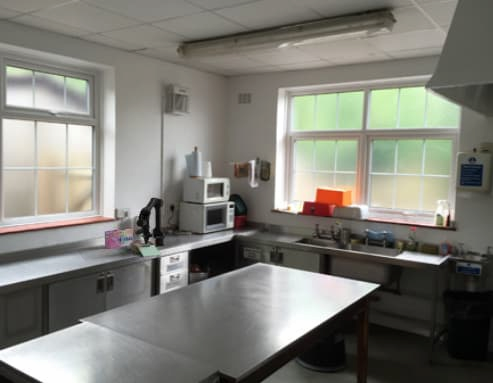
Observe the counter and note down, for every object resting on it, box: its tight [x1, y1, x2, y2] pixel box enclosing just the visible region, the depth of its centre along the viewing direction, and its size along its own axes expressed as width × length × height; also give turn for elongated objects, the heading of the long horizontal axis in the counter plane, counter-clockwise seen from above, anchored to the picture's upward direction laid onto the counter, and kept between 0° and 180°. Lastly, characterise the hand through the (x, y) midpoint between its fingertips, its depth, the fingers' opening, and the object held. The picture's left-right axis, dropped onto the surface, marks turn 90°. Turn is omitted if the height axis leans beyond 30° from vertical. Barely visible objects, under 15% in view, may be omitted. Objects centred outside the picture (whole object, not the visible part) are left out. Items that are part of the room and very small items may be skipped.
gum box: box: [104, 227, 134, 250], centre depth 372 cm, size 24×8×14 cm, turn 136°
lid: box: [138, 244, 162, 258], centre depth 342 cm, size 13×18×3 cm
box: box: [129, 240, 157, 254], centre depth 357 cm, size 16×18×5 cm
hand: (145, 244), depth 349 cm, fingers closed
